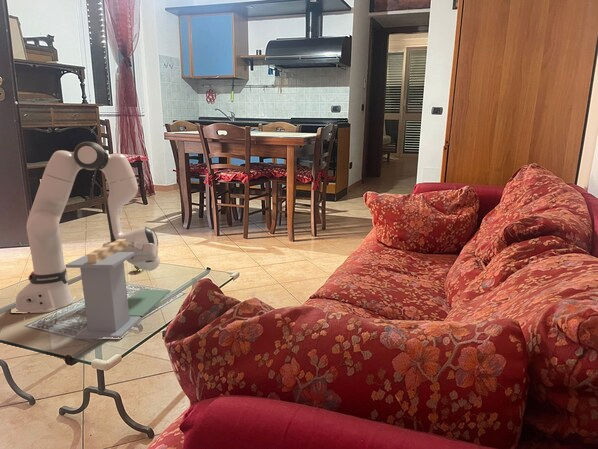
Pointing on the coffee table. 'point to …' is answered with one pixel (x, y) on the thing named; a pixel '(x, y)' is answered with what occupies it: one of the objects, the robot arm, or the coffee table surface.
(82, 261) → the pedestal
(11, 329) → the coffee table surface
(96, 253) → the checkered wooden bar
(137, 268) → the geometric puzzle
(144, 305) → the mat
